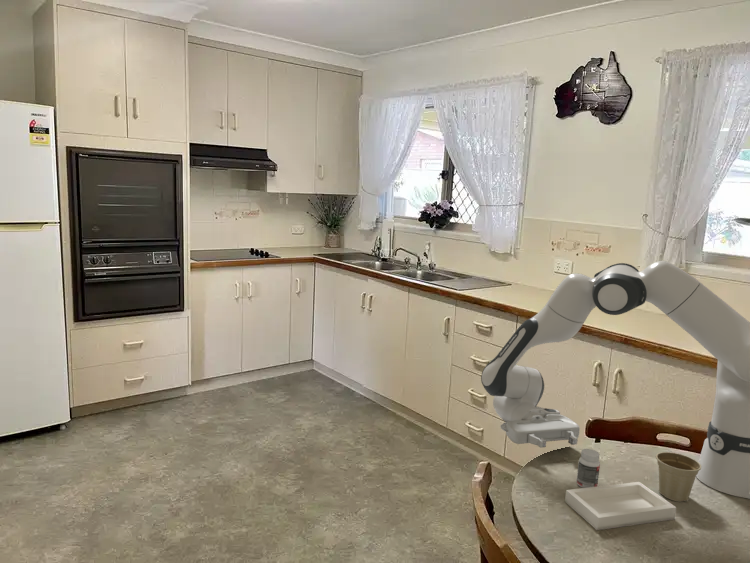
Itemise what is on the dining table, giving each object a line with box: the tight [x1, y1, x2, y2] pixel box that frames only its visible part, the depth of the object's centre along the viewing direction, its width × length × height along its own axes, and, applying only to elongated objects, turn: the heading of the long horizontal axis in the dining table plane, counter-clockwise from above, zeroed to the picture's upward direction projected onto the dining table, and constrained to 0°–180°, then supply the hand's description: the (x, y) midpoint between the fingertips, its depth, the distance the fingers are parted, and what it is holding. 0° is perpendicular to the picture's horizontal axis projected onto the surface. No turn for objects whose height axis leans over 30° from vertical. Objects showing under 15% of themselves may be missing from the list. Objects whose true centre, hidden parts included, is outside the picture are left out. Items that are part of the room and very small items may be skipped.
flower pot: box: [655, 451, 701, 503], centre depth 130 cm, size 9×9×9 cm
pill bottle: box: [576, 448, 601, 488], centre depth 133 cm, size 5×5×8 cm
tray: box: [564, 481, 677, 531], centre depth 123 cm, size 20×11×3 cm, turn 106°
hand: (559, 443), depth 144 cm, fingers open, 8 cm apart
